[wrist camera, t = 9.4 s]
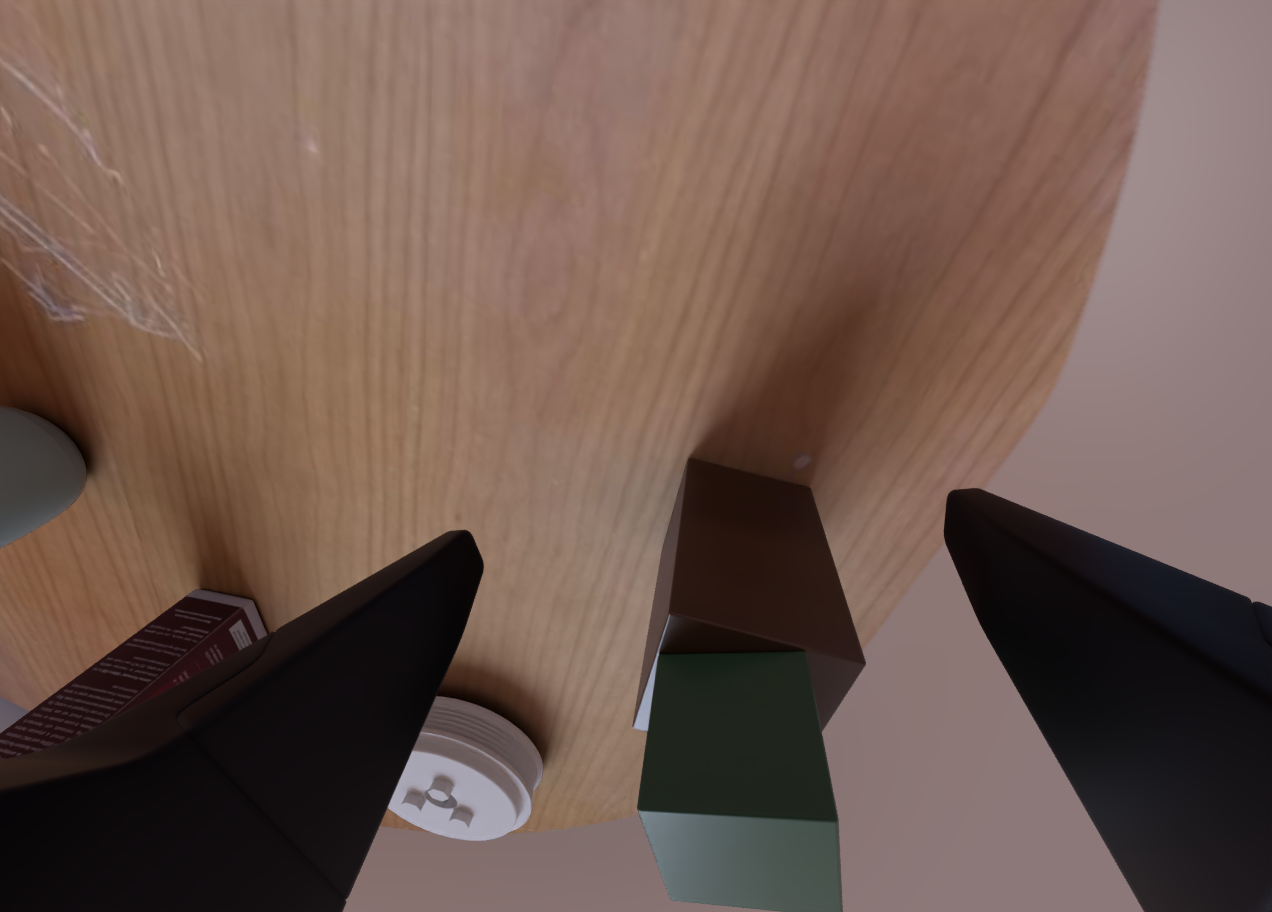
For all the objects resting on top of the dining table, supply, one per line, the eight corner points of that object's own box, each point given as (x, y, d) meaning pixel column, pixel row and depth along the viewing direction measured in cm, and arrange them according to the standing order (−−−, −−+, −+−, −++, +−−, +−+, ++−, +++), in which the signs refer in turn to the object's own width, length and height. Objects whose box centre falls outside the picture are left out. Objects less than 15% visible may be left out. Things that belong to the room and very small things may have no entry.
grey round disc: (531, 802, 41) (508, 875, 36) (389, 755, 40) (349, 822, 36) (562, 719, 34) (539, 794, 30) (395, 663, 34) (347, 730, 30)
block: (657, 652, 15) (635, 809, 11) (806, 649, 14) (839, 821, 10) (681, 741, 17) (669, 902, 13) (813, 744, 16) (843, 919, 12)
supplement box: (193, 585, 34) (-175, 852, 20) (255, 597, 33) (-77, 879, 19) (233, 667, 38) (-50, 935, 24) (288, 678, 37) (34, 959, 24)
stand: (687, 457, 23) (668, 612, 14) (811, 487, 23) (867, 664, 14) (661, 551, 26) (631, 728, 17) (770, 579, 26) (796, 773, 17)
